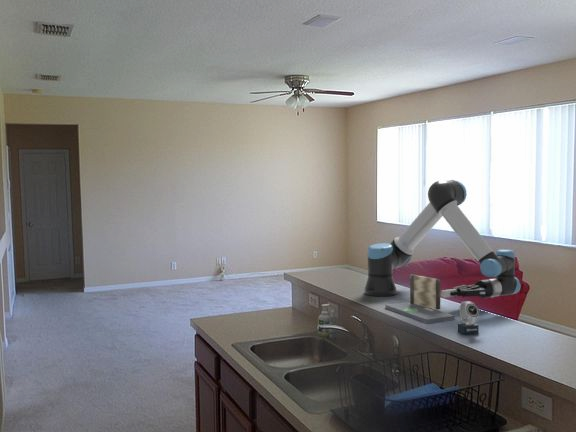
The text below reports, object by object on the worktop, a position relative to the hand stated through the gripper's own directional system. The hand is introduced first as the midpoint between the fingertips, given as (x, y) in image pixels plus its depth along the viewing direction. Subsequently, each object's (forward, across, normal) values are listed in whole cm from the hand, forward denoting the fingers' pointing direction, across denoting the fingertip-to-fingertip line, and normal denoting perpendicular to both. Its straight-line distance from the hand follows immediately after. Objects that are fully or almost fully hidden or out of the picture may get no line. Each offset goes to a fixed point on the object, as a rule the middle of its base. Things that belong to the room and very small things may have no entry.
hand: (442, 294), depth 220 cm
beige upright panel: (+5, +5, -5) cm, 9 cm away
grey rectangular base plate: (+10, +2, -7) cm, 13 cm away
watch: (+12, -28, -8) cm, 32 cm away
